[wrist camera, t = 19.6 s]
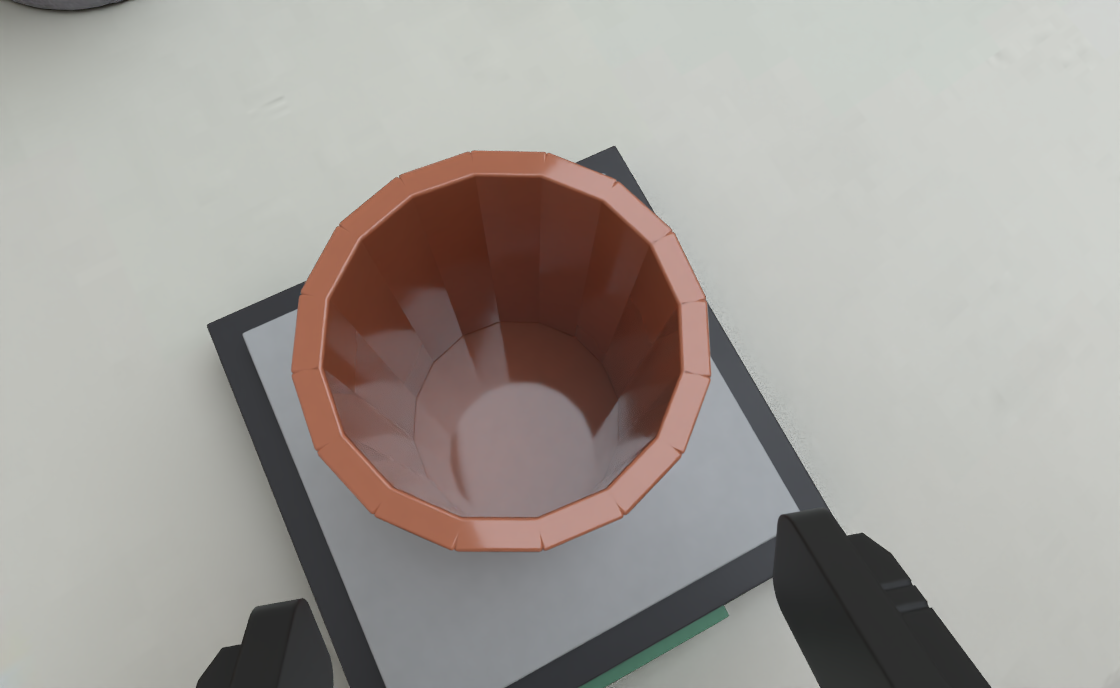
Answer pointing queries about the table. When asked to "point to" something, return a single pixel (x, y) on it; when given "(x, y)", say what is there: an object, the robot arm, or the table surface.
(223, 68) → the table surface
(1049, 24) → the table surface
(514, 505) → the cup
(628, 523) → the scale
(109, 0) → the pillar candle
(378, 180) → the table surface
